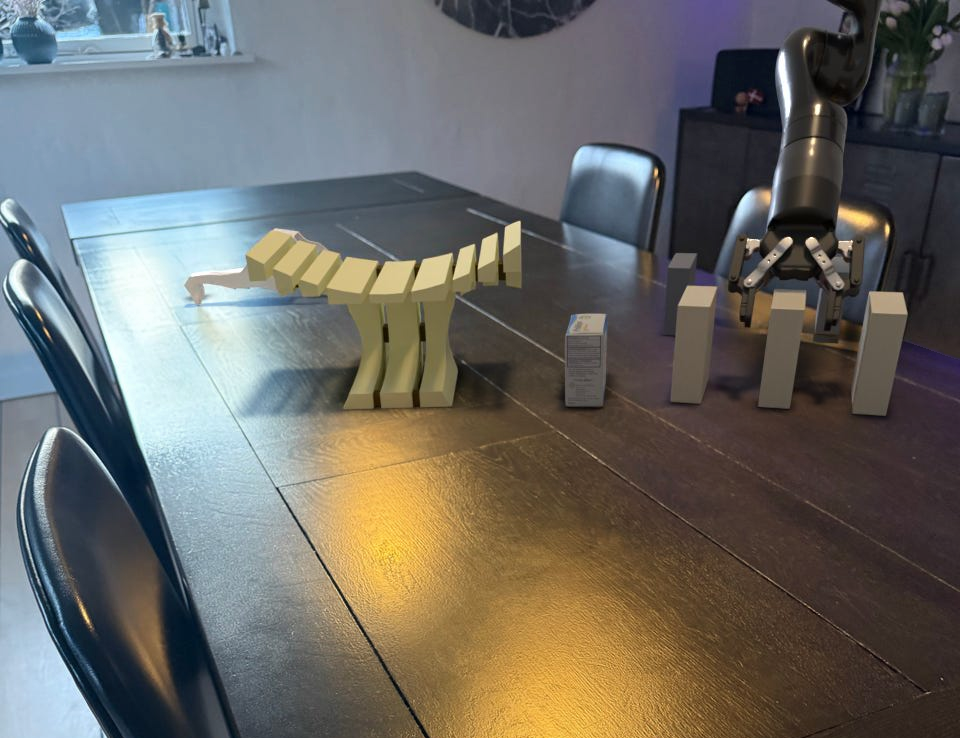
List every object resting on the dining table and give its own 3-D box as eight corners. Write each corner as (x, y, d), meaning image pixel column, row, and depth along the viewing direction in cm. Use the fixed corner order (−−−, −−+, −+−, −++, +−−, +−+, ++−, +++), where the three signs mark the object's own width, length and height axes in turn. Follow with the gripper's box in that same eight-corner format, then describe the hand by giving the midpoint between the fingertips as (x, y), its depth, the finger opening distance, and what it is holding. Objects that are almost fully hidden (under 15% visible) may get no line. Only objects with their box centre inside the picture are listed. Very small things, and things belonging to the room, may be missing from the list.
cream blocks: (670, 402, 108) (677, 305, 102) (679, 377, 115) (687, 285, 108) (885, 416, 102) (907, 314, 96) (882, 389, 108) (902, 292, 102)
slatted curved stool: (523, 360, 123) (520, 215, 112) (523, 404, 109) (520, 244, 99) (299, 367, 124) (277, 224, 114) (273, 411, 111) (245, 254, 101)
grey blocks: (662, 335, 129) (667, 267, 124) (670, 317, 136) (675, 252, 130) (837, 343, 123) (849, 272, 118) (836, 324, 129) (848, 256, 124)
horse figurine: (331, 348, 159) (186, 295, 155) (357, 253, 150) (204, 195, 146) (327, 357, 155) (178, 303, 151) (353, 260, 146) (195, 200, 142)
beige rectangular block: (757, 406, 106) (771, 308, 99) (761, 383, 112) (774, 288, 106) (789, 409, 105) (805, 309, 98) (792, 385, 111) (806, 289, 105)
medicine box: (602, 408, 107) (605, 333, 102) (564, 408, 108) (564, 333, 103) (606, 384, 114) (608, 312, 109) (569, 384, 114) (570, 312, 109)
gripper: (741, 172, 103) (722, 305, 101) (878, 172, 100) (860, 310, 97) (740, 214, 111) (721, 339, 108) (867, 215, 107) (850, 345, 104)
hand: (787, 325), depth 103 cm, fingers open, 8 cm apart
